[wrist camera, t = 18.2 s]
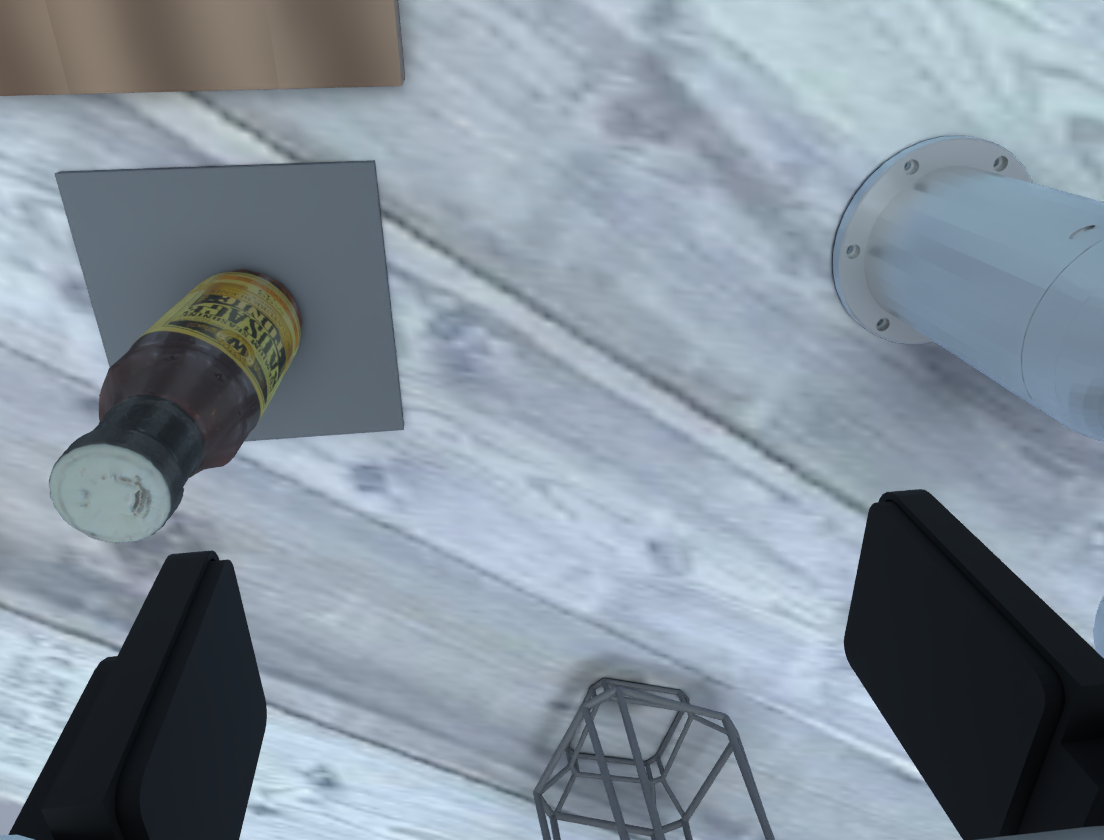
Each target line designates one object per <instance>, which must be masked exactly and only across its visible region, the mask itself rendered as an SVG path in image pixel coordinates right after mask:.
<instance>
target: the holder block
mask: <svg viewBox="0 0 1104 840" xmlns="http://www.w3.org/2000/svg"><path fill="white" fill-rule="evenodd" d="M404 80H405V73H404V62H403V50H402V39H401V28H400V17H399V6H398V0H0V96H16V95H56V94H95V93H135V92H175V91H215V90H254V89H294V88H334V87H374V86H402V84H403V82H404Z"/></svg>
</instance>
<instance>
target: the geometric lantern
mask: <svg viewBox="0 0 1104 840" xmlns="http://www.w3.org/2000/svg"><path fill="white" fill-rule="evenodd" d="M607 684H613V685H619V686H614V687H611V688H608V685H607ZM601 685H603V688H604V692H602V693H600V694H599V695H596V691H595V690H596V689H597V688H599V687H600V686H601ZM621 686H626V687H632V688H638V689H645V690H651V691H657V692H664V693H670V694H676V695H678V697H679V699H680V701H681V702H679V701H675V700H671V699H667V698H663V697H660V696H656V695H652V694H648V693H644V692H640V691H637V690H633V689H629V688H625V687H621ZM615 695H616V696H615ZM624 695H625V696H629V697H633V698H637V699H633V698H627V697H624ZM591 697H592V698H591ZM608 699H609V700H614V701H618V704H619V707H620V711H621V714H622V718H623V722H624V725H625V729H626V733H627V736H628V740H629V743H630V747H631V751H632V754H633V758H634V760H627V759H619V758H611V757H604V754H603V751H602V747H601V744H600V741H599V738H598V735H597V732H596V728H595V725H594V722H593V720H594V717H595V715H596V713H597V710H598V708H599V706H600V704H601V703H603V702H604V701H606V700H608ZM639 699H640V700H639ZM626 703H633V704H639V705H645V706H651V707H657V708H664V709H670V710H676V711H679V712H678V714H677V716H676V718H675V720H674V722H673V724H672V726H671V728H670V730H669V732H668V734H667V736H666V738H665V740H664V742H663V744H662V745H661V747H660V749H659V751H658V753H657V755H656V756H654V757H652V758H651V759H649V760H647V761H646V762H643V760H642V756H641V753H640V749H639V746H638V742H637V739H636V736H635V732H634V729H633V725H632V722H631V718H630V715H629V712H628V708H627V705H626ZM591 709H593V710H592V712H591V713H590V710H591ZM684 712H687V713H688V716H689V717H688V719H687V722H686V724H685V726H684V728H683V730H682V732H681V734H680V737H679V739H678V741H677V743H676V745H675V747H674V750H673V752H672V754H671V756H670V758H669V760H668V763H667V765H666V767H665V769H664V768H663V765H662V762H661V759H660V758H661V756H662V754H663V752H664V750H665V748H666V746H667V744H668V742H669V740H670V738H671V736H672V734H673V732H674V730H675V729H676V727H677V725H678V723H679V721H680V719H681V717H682V715H683V713H684ZM693 713H694V714H693ZM695 714H698V715H703V716H706V717H710V718H714V719H718V720H722V722H723V725H724V728H723V727H721V726H719V725H716V724H714V723H712V722H710V721H708V720H706V719H704V718H701V717H699V716H697V715H695ZM583 717H584V719H585V722H586V726H585V728H584V730H583V733H582V735H581V737H580V740H579V742H578V744H577V747H576V749H575V751H573V750H572V749H571V748H570V747H569V745H570V743H571V740H572V738H573V736H574V734H575V732H576V730H577V727H578V726H579V724H580V722H581V720H582V719H583ZM693 719H694V720H697V721H699V722H701V723H703V724H705V725H707V726H709V727H711V728H714V729H716V730H718V731H720V732H722V733H724V734H726V735H727V736H728V738H729V741H730V742H729V744H728V745H727V747H726V748H725V750H724V752H723V753H722V755H721V756H720V758H719V760H718V761H717V763H716V764H715V766H714V768H713V769H712V771H711V772H710V774H709V776H708V777H707V779H706V780H705V782H704V783H703V785H702V787H701V788H700V790H699V791H698V793H697V795H696V796H695V798H694V799H693V801H692V803H691V804H690V806H689V807H688V809H687V811H686V812H685V813H684V811H683V809H682V808H681V806H680V804H679V802H678V801H677V799H676V797H675V796H674V794H673V792H672V790H671V789H670V787H669V785H668V784H667V782H666V780H665V778H666V776H667V774H668V772H669V770H670V768H671V765H672V763H673V761H674V759H675V757H676V755H677V752H678V750H679V748H680V746H681V744H682V742H683V740H684V737H685V735H686V733H687V731H688V729H689V727H690V725H691V722H692V720H693ZM588 732H589V735H590V738H591V741H592V744H593V748H594V751H595V755H588V754H580V753H579V752H580V749H581V747H582V745H583V743H584V740H585V738H586V736H587V733H588ZM564 750H566V755H567V759H568V763H569V764H568V765H567V766H566V767H565V768H563V769H562V770H561V771H560V772H559V773H558V774H557V775H555V776H554V777H553V778H552V779H551V780H550V781H549V782H547V780H548V779H549V777H550V775H551V773H552V772H553V770H554V768H555V766H556V765H557V763H558V761H559V759H560V758H561V756H562V754H563V752H564ZM732 751H733V752H734V755H735V757H736V760H737V763H738V765H739V768H740V771H741V773H742V776H743V779H744V781H745V784H746V787H747V790H748V792H749V795H750V798H751V800H752V803H753V806H754V808H755V811H756V814H757V816H758V819H759V822H760V825H761V827H762V830H763V833H764V836H765V839H766V840H775V838H774V835H773V833H772V830H771V828H770V825H769V822H768V820H767V817H766V814H765V811H764V808H763V805H762V802H761V799H760V796H759V793H758V790H757V787H756V784H755V781H754V778H753V775H752V772H751V769H750V766H749V763H748V760H747V757H746V754H745V751H744V748H743V745H742V742H741V739H740V736H739V733H738V731H737V729H736V728H735V726H734V724H733V722H732V721H731V719H730V717H729V716H728V715H727V714H725V713H721V712H717V711H713V710H710V709H706V708H702V707H698V706H694V705H690V704H689V698H688V697H687V696H686V695H685V694H684V693H683V692H682V691H681V690H675V689H669V688H663V687H656V686H650V685H644V684H638V683H631V682H625V681H619V680H612V679H605V678H603V679H601V680H600V681H599V682H597V683H596V684H594V685H593V686H591V687H590V688H589V692H588V694H587V696H586V698H585V700H584V703H583V704H582V705H581V707H580V709H579V711H578V712H577V714H576V716H575V718H574V720H573V721H572V723H571V725H570V727H569V729H568V730H567V732H566V734H565V736H564V737H563V739H562V741H561V743H560V745H559V746H558V748H557V750H556V752H555V753H554V755H553V757H552V759H551V761H550V762H549V764H548V766H547V768H546V770H545V771H544V773H543V775H542V777H541V778H540V780H539V782H538V784H537V786H536V787H535V789H534V791H533V795H534V800H535V804H536V809H537V813H538V818H539V823H540V827H541V831H542V836H543V840H551V837H550V833H549V829H548V824H547V820H546V816H545V813H546V814H547V816H548V817H549V818H550V823H551V828H552V834H553V840H561V839H560V833H559V828H558V823H557V820H562V821H567V822H573V823H579V824H584V825H590V826H595V827H601V828H607V829H612V830H618V833H619V836H620V840H630V839H629V836H628V832H629V833H635V834H640V835H646V836H651V839H652V840H666V839H665V836H664V833H667V832H669V831H672V830H675V829H677V828H680V827H682V826H683V831H684V835H685V839H686V840H693V839H692V835H691V831H690V827H689V823H688V821H689V819H690V818H691V816H692V815H693V813H694V811H695V810H696V808H697V807H698V805H699V804H700V802H701V800H702V799H703V797H704V796H705V794H706V793H707V791H708V789H709V788H710V786H711V785H712V783H713V781H714V780H715V778H716V777H717V775H718V774H719V772H720V770H721V769H722V767H723V766H724V764H725V762H726V761H727V759H728V758H729V756H730V755H731V753H732ZM571 755H572V756H571ZM577 758H582V759H590V760H597V761H598V765H599V768H600V772H601V774H595V773H585V772H579V766H578V760H577ZM655 761H657V764H658V767H659V770H660V773H661V776H660V777H657V778H654V779H653V777H652V773H651V769H650V764H652V763H653V762H655ZM606 762H614V763H621V764H629V765H636V769H637V772H638V776H639V778H633V777H623V776H614V775H610V774H609V770H608V767H607V764H606ZM644 766H645V767H646V770H645V767H644ZM569 770H571V771H572V773H573V774H572V776H571V778H570V780H569V782H568V784H567V786H566V788H565V791H564V793H563V795H562V797H561V799H560V801H559V803H558V805H557V808H556V810H555V811H553V810H552V809H551V808H550V806H549V805H548V804H547V802H546V801H545V799H544V798H543V797H542V794H543V793H544V792H545V791H546V790H547V789H548V788H549V787H551V786H552V785H553V784H554V783H555V782H556V781H557V780H558V779H560V778H561V777H562V776H563V775H564V774H565V773H566V772H568V771H569ZM646 771H647V774H646ZM647 775H648V777H647ZM576 777H585V778H594V779H603V782H604V785H605V789H606V792H607V795H608V799H609V802H610V806H611V809H612V812H613V816H614V819H615V822H611V821H605V820H599V819H594V818H588V817H583V816H577V815H572V814H566V813H561V812H560V810H561V808H562V806H563V804H564V802H565V800H566V798H567V796H568V793H569V791H570V789H571V787H572V785H573V783H574V781H575V778H576ZM612 780H614V781H623V782H633V783H641V786H642V790H643V794H644V797H645V801H646V804H647V808H648V812H649V815H650V819H651V822H652V826H653V829H649V828H644V827H638V826H633V825H627V824H625V823H624V819H623V816H622V813H621V810H620V806H619V803H618V800H617V796H616V793H615V790H614V787H613V783H612ZM660 781H661V782H662V784H663V786H664V787H665V789H666V791H667V793H668V794H669V796H670V798H671V800H672V801H673V803H674V805H675V806H676V808H677V810H678V812H679V813H680V815H681V817H682V819H680V820H678V821H675V822H672V823H670V824H667V825H664V826H662V825H661V822H660V818H659V815H658V811H657V808H656V795H655V783H658V782H660ZM546 782H547V783H546Z"/></svg>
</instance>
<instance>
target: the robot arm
mask: <svg viewBox="0 0 1104 840" xmlns="http://www.w3.org/2000/svg"><path fill="white" fill-rule="evenodd" d="M906 163H907V165H906ZM905 165H906V167H905ZM904 167H905V168H904ZM849 246H850V248H849V250H848V251H847V249H848V247H849ZM833 275H834V280H835V285H836V290H837V292H838V295H839V297H840V299H841V302H842V304H843V306H844V307H845V309H846V310H847V311H848V313H849V314H850V315H851V317H852V318H853V319H854V320H855V321H857V322H858V323H859V324H860V325H861V326H863V327H864V328H865V329H866V330H868V331H869V332H871V333H872V334H874V335H876V336H877V337H880V338H883V339H886V340H888V341H891V342H895V343H902V344H925V343H931V342H935V343H936V344H938V345H940V346H941V347H943V348H944V349H946V350H947V351H949V352H950V353H952V354H953V355H955V356H957V357H958V358H960V359H961V360H963V361H964V362H966V363H967V364H969V365H971V366H972V367H974V368H975V369H977V370H978V371H980V372H981V373H983V374H984V375H986V376H988V377H989V378H991V379H992V380H994V381H995V382H997V383H998V384H1000V385H1002V386H1003V387H1005V388H1006V389H1008V390H1009V391H1011V392H1012V393H1014V394H1015V395H1017V396H1019V397H1020V398H1022V399H1023V400H1025V401H1026V402H1028V403H1030V404H1031V405H1033V406H1034V407H1036V408H1037V409H1039V410H1041V411H1042V412H1044V413H1046V414H1047V415H1049V416H1050V417H1052V418H1054V419H1055V420H1057V421H1058V422H1060V423H1061V424H1063V425H1065V426H1066V427H1068V428H1070V429H1072V430H1074V431H1076V432H1078V433H1080V434H1082V435H1085V436H1087V437H1090V438H1094V439H1096V440H1100V441H1104V202H1100V201H1096V200H1092V199H1089V198H1085V197H1081V196H1078V195H1074V194H1070V193H1067V192H1063V191H1059V190H1055V189H1052V188H1048V187H1044V186H1041V185H1037V184H1033V181H1032V180H1031V178H1030V176H1029V174H1028V172H1027V170H1026V169H1025V167H1024V165H1023V164H1022V163H1021V162H1020V161H1019V160H1018V159H1017V158H1016V157H1015V156H1014V155H1013V154H1012V153H1011V152H1009V151H1007V150H1006V149H1004V148H1003V147H1001V146H1000V145H998V144H995V143H992V142H989V141H986V140H983V139H979V138H973V137H967V136H943V137H939V138H934V139H930V140H926V141H923V142H920V143H918V144H916V145H914V146H911V147H909V148H907V149H905V150H903V151H901V152H900V153H898V154H897V155H895V156H894V157H892V158H891V159H889V160H888V161H886V162H885V163H884V164H883V165H882V166H881V167H880V168H879V169H877V170H876V171H875V172H874V173H873V174H872V175H871V176H870V177H869V178H868V179H867V181H866V182H865V183H864V184H863V186H862V187H861V188H860V189H859V191H858V192H857V193H856V194H855V196H854V198H853V199H852V201H851V203H850V205H849V207H848V208H847V210H846V212H845V214H844V216H843V219H842V221H841V224H840V227H839V229H838V232H837V236H836V241H835V246H834V252H833ZM1093 632H1094V645H1095V649H1096V651H1095V650H1094V649H1093V648H1092V647H1091V646H1090V645H1089V644H1088V643H1087V642H1086V641H1085V640H1084V639H1083V638H1082V637H1081V636H1080V635H1079V634H1078V633H1076V632H1075V631H1074V630H1073V629H1072V628H1071V627H1070V626H1069V625H1068V624H1067V623H1066V622H1065V621H1064V620H1063V619H1062V618H1061V617H1060V616H1059V615H1058V614H1056V613H1055V612H1054V611H1053V610H1052V609H1051V608H1050V607H1049V606H1048V605H1047V604H1046V603H1045V602H1044V601H1043V600H1042V599H1041V598H1040V597H1039V596H1038V595H1037V594H1035V593H1034V592H1033V591H1032V590H1031V589H1030V588H1029V587H1028V586H1027V585H1026V584H1025V583H1024V582H1023V581H1022V580H1021V579H1020V578H1019V577H1018V576H1017V575H1015V574H1014V573H1013V572H1012V571H1011V570H1010V569H1009V568H1008V567H1007V566H1006V565H1005V564H1004V563H1003V562H1002V561H1001V560H1000V559H999V558H998V557H997V556H995V555H994V554H993V553H992V552H991V551H990V550H989V549H988V548H987V547H986V546H985V545H984V544H983V543H982V542H981V541H980V540H979V539H978V538H977V537H976V536H974V535H973V534H972V533H971V532H970V531H969V530H968V529H967V528H966V527H965V526H964V525H963V524H962V523H961V522H960V521H959V520H958V519H957V518H956V517H954V516H953V515H952V514H951V513H950V512H949V511H948V510H947V509H946V508H945V507H944V506H943V505H942V504H941V503H940V502H939V501H938V500H937V499H936V498H934V497H933V496H932V495H931V494H930V493H929V492H927V491H926V490H922V489H917V490H906V491H894V492H886V493H884V494H883V495H882V496H881V498H880V499H879V502H878V503H874V504H872V506H871V507H870V509H869V513H868V518H867V523H866V528H865V533H864V538H863V544H862V549H861V554H860V559H859V564H858V569H857V575H856V580H855V585H854V590H853V595H852V600H851V606H850V611H849V616H848V621H847V626H846V631H845V636H844V649H845V654H846V657H847V660H848V662H849V664H850V666H851V667H852V669H853V670H854V672H855V673H856V675H857V676H858V678H859V679H860V681H861V683H862V684H863V686H864V687H865V689H866V690H867V692H868V693H869V695H870V696H871V698H872V700H873V701H874V703H875V704H876V706H877V707H878V709H879V710H880V712H881V714H882V715H883V717H884V718H885V720H886V721H887V723H888V724H889V726H890V727H891V729H892V731H893V732H894V734H895V735H896V737H897V738H898V740H899V741H900V743H901V744H902V746H903V748H904V749H905V751H906V752H907V754H908V755H909V757H910V758H911V760H912V761H913V763H914V765H915V766H916V768H917V769H918V771H919V772H920V774H921V775H922V777H923V778H924V780H925V782H926V783H927V785H928V786H929V788H930V789H931V791H932V792H933V794H934V795H935V797H936V799H937V800H938V802H939V803H940V805H941V806H942V808H943V809H944V811H945V812H946V814H947V816H948V817H949V819H950V820H951V822H952V823H953V825H954V826H955V828H956V830H957V831H958V833H959V834H960V836H961V837H962V839H963V840H1104V596H1103V598H1102V600H1101V602H1100V605H1099V607H1098V610H1097V613H1096V617H1095V623H1094V629H1093ZM266 719H267V709H266V701H265V696H264V692H263V688H262V684H261V679H260V675H259V671H258V667H257V663H256V658H255V654H254V650H253V646H252V642H251V637H250V633H249V629H248V625H247V621H246V617H245V612H244V608H243V604H242V600H241V596H240V591H239V587H238V583H237V579H236V575H235V571H234V567H233V564H232V562H231V561H230V560H219V558H218V555H217V554H216V552H214V551H202V552H190V553H179V554H171V555H169V556H168V557H167V559H166V560H165V562H164V564H163V566H162V568H161V570H160V572H159V574H158V576H157V578H156V580H155V582H154V584H153V586H152V588H151V590H150V592H149V594H148V596H147V598H146V600H145V602H144V604H143V606H142V608H141V610H140V612H139V614H138V616H137V618H136V620H135V622H134V624H133V626H132V628H131V630H130V632H129V634H128V636H127V638H126V640H125V642H124V644H123V646H122V648H121V650H120V652H119V654H118V656H114V657H107V658H106V659H104V660H102V661H101V662H100V663H99V665H98V666H97V668H96V669H95V671H94V672H93V674H92V676H91V678H90V680H89V682H88V684H87V686H86V688H85V690H84V692H83V693H82V695H81V697H80V699H79V701H78V703H77V705H76V707H75V709H74V711H73V713H72V714H71V716H70V718H69V720H68V722H67V724H66V726H65V728H64V730H63V732H62V734H61V735H60V737H59V739H58V741H57V743H56V745H55V747H54V749H53V751H52V753H51V755H50V756H49V758H48V760H47V762H46V764H45V766H44V768H43V770H42V772H41V774H40V776H39V777H38V779H37V781H36V783H35V785H34V787H33V789H32V791H31V793H30V795H29V797H28V798H27V800H26V802H25V804H24V806H23V808H22V810H21V812H20V814H19V816H18V818H17V819H16V821H15V824H14V825H13V827H12V829H11V831H10V833H9V835H1V836H0V840H239V837H240V833H241V829H242V825H243V821H244V816H245V812H246V808H247V804H248V800H249V795H250V791H251V787H252V783H253V779H254V774H255V770H256V766H257V762H258V758H259V754H260V749H261V745H262V741H263V737H264V733H265V728H266Z"/></svg>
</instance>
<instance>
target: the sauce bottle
mask: <svg viewBox="0 0 1104 840" xmlns="http://www.w3.org/2000/svg"><path fill="white" fill-rule="evenodd" d="M301 327H302V319H301V316H300V313H299V310H298V308H297V305H296V304H295V301H294V300H293V298H292V296H291V294H290V293H289V292H288V291H286V289H285V288H284V287H283V285H282V284H280V283H278V282H277V281H275V280H273V279H272V278H270V277H267V276H264V275H262V274H260V273H258V272H252V271H250V270H245V269H239V270H236V271H229V272H223V273H220V274H216V275H213V276H211V277H209V278H207V279H205V280H204V281H202V282H201V283H199V284H198V285H197V286H196V287H195V288H194V289H192V290H191V291H190V292H189V293H188V294H187V295H186V296H185V297H184V298H183V299H181V300H180V301H179V302H178V303H177V304H176V305H174V306H173V307H172V308H171V309H170V310H169V311H168V312H167V313H166V314H164V315H163V316H162V317H161V318H160V319H159V320H158V321H157V322H156V323H154V324H153V325H152V326H151V327H150V328H149V329H148V330H147V331H146V332H145V333H144V334H143V335H142V336H141V337H140V338H139V339H138V340H136V341H135V342H134V344H133V345H132V346H131V348H130V349H129V351H128V352H127V353H126V354H124V355H123V356H122V357H121V358H120V359H119V360H118V361H117V362H115V363H114V364H113V365H112V366H111V367H110V368H109V370H108V373H107V376H106V378H105V381H104V383H103V386H102V389H101V393H100V395H99V396H100V398H99V420H100V422H99V425H98V426H97V427H96V428H95V429H94V430H93V431H91V432H90V433H87V434H85V435H83V436H82V437H80V438H78V439H77V440H76V441H75V442H73V443H72V444H71V445H70V446H69V448H68V449H67V450H66V451H65V452H64V453H63V455H62V456H61V457H60V458H59V459H58V461H57V462H56V463H55V465H54V467H53V469H52V472H51V475H50V479H49V488H50V498H51V500H52V501H53V504H54V507H55V508H56V510H57V511H58V513H59V514H60V515H61V517H62V518H63V519H64V520H65V521H66V522H67V523H68V524H69V525H71V526H72V527H74V528H76V529H77V530H79V531H81V532H82V533H84V534H86V535H87V536H89V537H91V538H94V539H97V540H101V541H105V542H111V543H120V542H132V541H137V540H142V539H144V538H146V537H148V536H150V535H153V534H155V532H156V531H157V530H159V529H160V528H162V527H163V526H164V525H165V523H166V521H167V520H168V519H169V518H170V517H171V515H172V514H173V513H174V511H175V510H176V509H177V507H178V506H179V504H180V502H181V499H182V497H183V492H184V488H183V486H184V485H185V483H186V482H187V480H188V478H190V477H192V476H193V475H195V474H196V473H198V472H200V471H202V470H204V469H209V468H214V467H221V466H224V465H226V464H227V463H229V462H230V461H231V460H232V458H234V456H235V455H236V453H237V451H238V450H239V448H240V447H241V445H242V444H243V442H244V441H245V439H246V438H247V436H248V435H249V433H250V432H251V431H252V430H253V429H254V428H255V427H256V425H257V424H258V422H259V420H260V419H261V417H262V415H263V413H264V411H265V410H266V408H267V406H268V404H269V402H270V400H271V399H272V397H273V395H274V393H275V391H276V389H277V388H278V386H279V384H280V382H281V380H282V378H283V377H284V375H285V373H286V371H287V370H288V368H289V366H290V364H291V362H292V360H293V358H294V356H295V355H296V353H297V350H298V347H299V342H300V336H301Z"/></svg>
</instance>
